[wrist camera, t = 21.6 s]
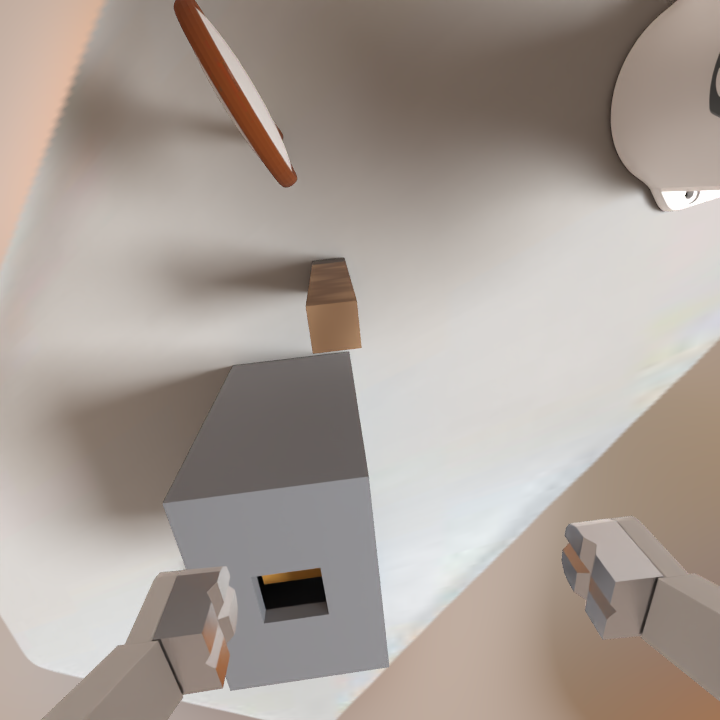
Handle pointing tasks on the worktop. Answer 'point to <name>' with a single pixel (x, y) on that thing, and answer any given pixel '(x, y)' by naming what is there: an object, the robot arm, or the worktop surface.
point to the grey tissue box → (286, 520)
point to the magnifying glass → (235, 91)
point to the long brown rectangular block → (332, 307)
